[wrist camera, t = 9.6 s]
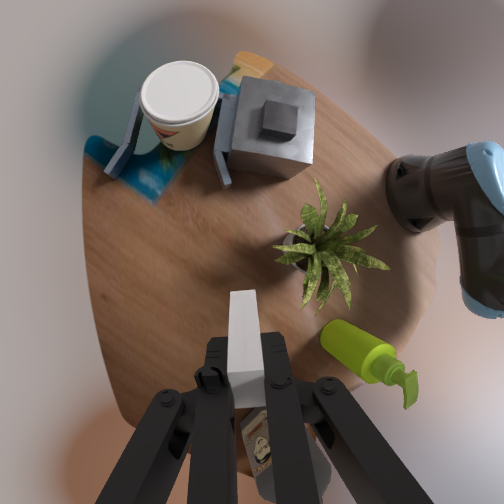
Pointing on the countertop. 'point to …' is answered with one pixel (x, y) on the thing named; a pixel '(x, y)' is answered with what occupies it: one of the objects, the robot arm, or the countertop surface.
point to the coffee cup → (180, 103)
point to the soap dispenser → (368, 357)
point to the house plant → (325, 250)
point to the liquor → (260, 455)
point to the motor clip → (249, 131)
